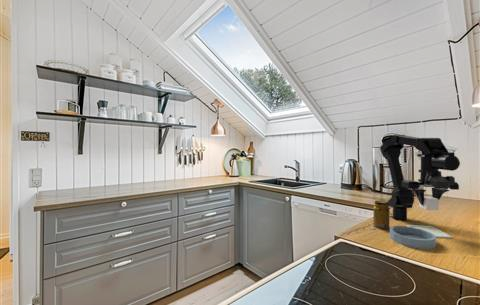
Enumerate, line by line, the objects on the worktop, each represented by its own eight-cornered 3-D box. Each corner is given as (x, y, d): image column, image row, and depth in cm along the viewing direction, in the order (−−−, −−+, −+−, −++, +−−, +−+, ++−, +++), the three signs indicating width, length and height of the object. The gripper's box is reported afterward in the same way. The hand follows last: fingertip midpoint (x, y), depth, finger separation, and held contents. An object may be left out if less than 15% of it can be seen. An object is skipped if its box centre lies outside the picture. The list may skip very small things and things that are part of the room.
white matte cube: (419, 206, 97) (419, 196, 97) (430, 207, 96) (430, 196, 96) (426, 209, 93) (426, 198, 92) (438, 210, 92) (438, 199, 92)
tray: (406, 227, 102) (406, 225, 101) (430, 228, 100) (430, 225, 100) (424, 238, 90) (424, 235, 90) (452, 239, 88) (452, 236, 88)
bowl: (382, 233, 94) (383, 225, 94) (419, 235, 93) (419, 226, 92) (402, 249, 80) (402, 239, 80) (446, 251, 79) (446, 241, 79)
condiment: (374, 224, 105) (374, 198, 105) (396, 228, 100) (396, 201, 99) (370, 228, 100) (370, 201, 100) (393, 233, 94) (393, 205, 94)
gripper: (417, 169, 87) (416, 210, 88) (471, 170, 85) (470, 211, 85) (400, 167, 98) (400, 202, 99) (448, 167, 96) (447, 203, 96)
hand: (428, 205), depth 94 cm, fingers closed on white matte cube, 4 cm apart
